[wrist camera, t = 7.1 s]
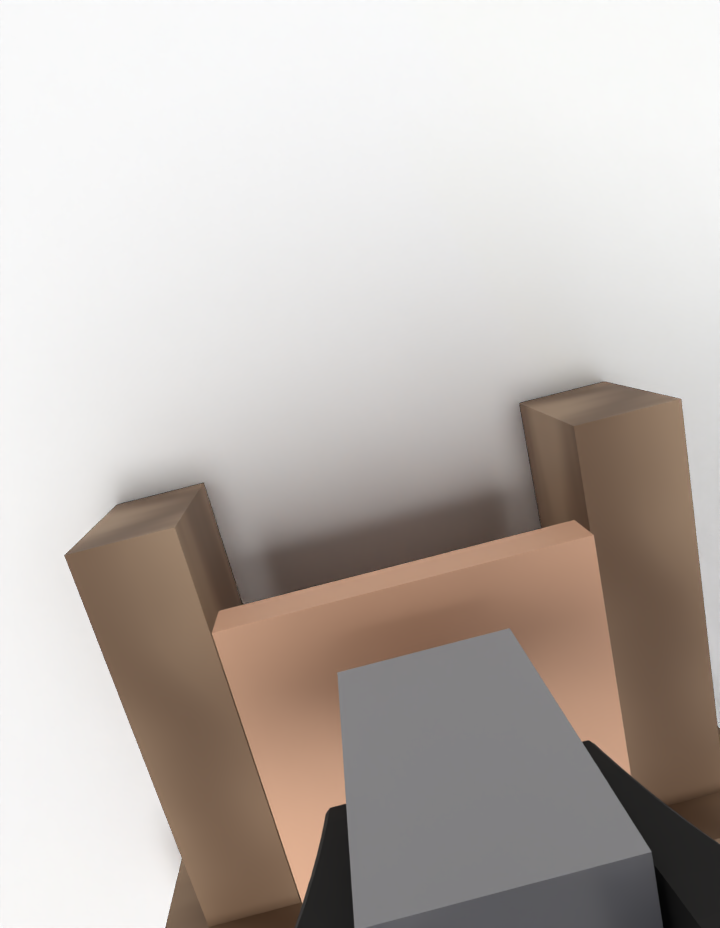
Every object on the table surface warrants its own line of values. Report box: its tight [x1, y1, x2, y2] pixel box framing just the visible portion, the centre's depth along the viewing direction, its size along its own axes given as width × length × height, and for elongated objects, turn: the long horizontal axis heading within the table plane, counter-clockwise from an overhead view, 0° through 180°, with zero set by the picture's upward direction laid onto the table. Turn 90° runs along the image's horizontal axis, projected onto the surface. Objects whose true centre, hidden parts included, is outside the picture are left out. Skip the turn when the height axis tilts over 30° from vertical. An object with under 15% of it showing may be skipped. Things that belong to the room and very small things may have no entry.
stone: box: [337, 628, 663, 928], centre depth 11 cm, size 4×4×6 cm
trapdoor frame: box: [64, 382, 720, 928], centre depth 20 cm, size 20×16×6 cm
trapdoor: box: [212, 520, 631, 903], centre depth 17 cm, size 10×10×1 cm
